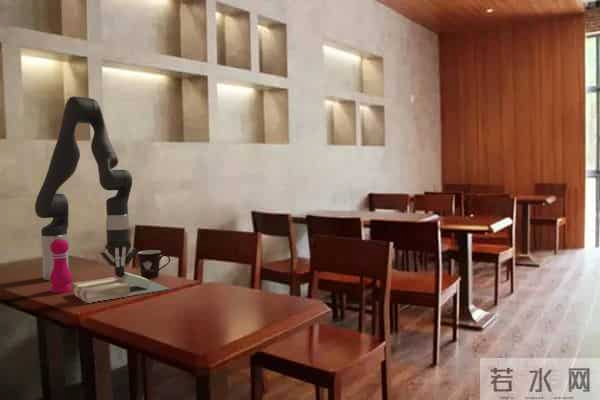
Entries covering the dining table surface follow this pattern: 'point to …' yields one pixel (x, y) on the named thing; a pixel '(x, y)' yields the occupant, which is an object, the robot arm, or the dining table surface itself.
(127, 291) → the block
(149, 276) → the coffee mug
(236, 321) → the dining table surface
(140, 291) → the slate mat
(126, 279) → the green tile
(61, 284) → the pepper mill
